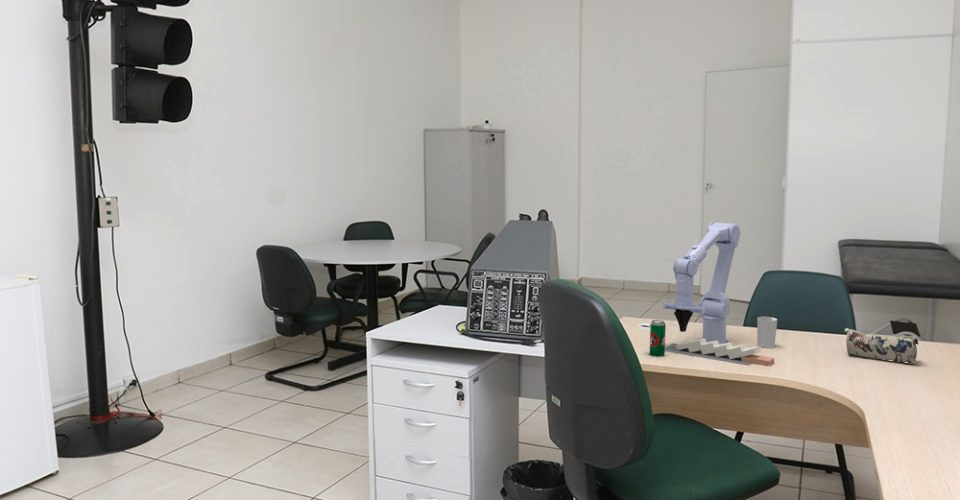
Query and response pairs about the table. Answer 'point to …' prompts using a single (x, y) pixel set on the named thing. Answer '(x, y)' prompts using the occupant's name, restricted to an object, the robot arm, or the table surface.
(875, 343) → the pencil case
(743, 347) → the domino
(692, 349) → the domino
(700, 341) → the domino
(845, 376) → the table surface
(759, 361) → the domino
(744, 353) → the domino
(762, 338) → the drinking glass
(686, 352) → the felt mat
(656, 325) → the soda can
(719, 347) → the domino
